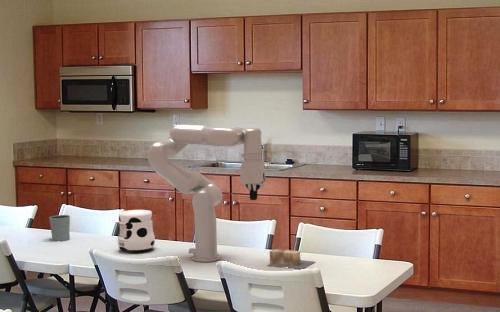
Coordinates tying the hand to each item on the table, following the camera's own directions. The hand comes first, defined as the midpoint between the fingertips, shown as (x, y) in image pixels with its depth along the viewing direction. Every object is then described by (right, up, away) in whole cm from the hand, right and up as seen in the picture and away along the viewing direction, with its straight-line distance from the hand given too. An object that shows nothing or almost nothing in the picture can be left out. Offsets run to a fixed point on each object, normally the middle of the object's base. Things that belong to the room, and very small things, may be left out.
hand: (253, 199), depth 324 cm
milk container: (-55, -26, +31) cm, 68 cm away
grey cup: (-98, -24, +59) cm, 116 cm away
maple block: (+8, -24, +1) cm, 25 cm away
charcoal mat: (+16, -27, -3) cm, 32 cm away
